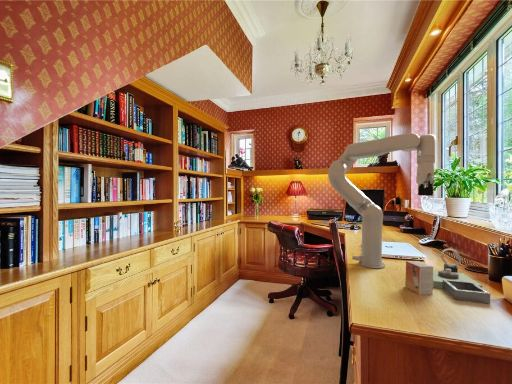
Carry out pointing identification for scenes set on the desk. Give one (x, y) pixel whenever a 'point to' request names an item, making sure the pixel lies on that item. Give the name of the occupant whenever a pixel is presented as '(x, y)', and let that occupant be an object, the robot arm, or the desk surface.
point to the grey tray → (466, 291)
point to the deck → (450, 277)
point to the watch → (451, 266)
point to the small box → (419, 277)
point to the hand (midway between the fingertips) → (425, 195)
